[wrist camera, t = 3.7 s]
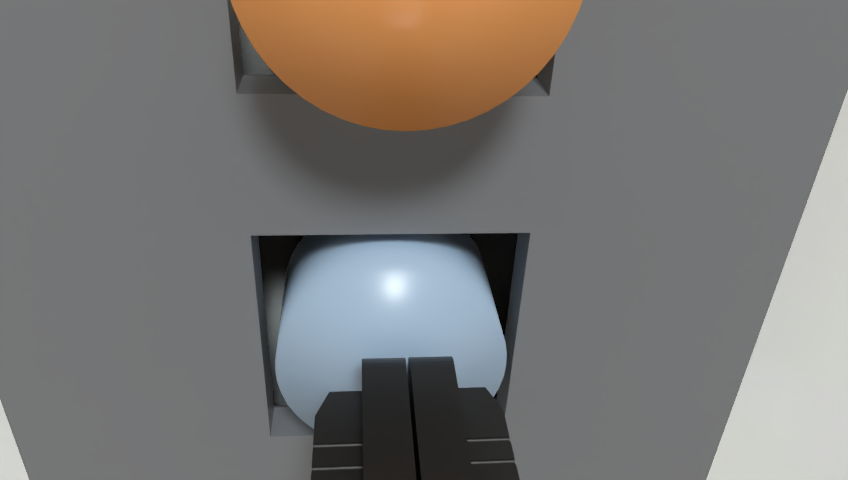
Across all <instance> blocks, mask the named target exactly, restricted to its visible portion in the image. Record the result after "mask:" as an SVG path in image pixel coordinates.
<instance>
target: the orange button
mask: <svg viewBox="0 0 848 480" xmlns="http://www.w3.org/2000/svg"><path fill="white" fill-rule="evenodd" d="M231 3H232V6H233V8H234V11H235V13H236V15H237V18H238V20H239V22H240V24H241V27H242V29H243V30H244V32H245V34H246V35H247V37H248V39H249V41H250V42H251V44H252V46H253V47H254V49H255V50H256V51H257V53H258V54H259V55H260V57H261V58H262V59H263V61H264V62H265V63H266V65H267V66H268V67H269V68H270V69H271V70H272V71H273V72H274V73H275V74H276V75H277V76H278V77H279V78H280V79H281V80H282V82H283V83H284V84H286V85H287V86H288V87H289V88H291V89H292V90H293V91H294V92H296V93H297V94H298V95H299V96H301V97H302V98H303V99H305V100H306V101H308V102H310V103H311V104H313V105H315V106H316V107H318V108H319V109H321V110H323V111H325V112H327V113H329V114H332V115H334V116H336V117H338V118H340V119H343V120H346V121H349V122H352V123H355V124H358V125H361V126H366V127H371V128H376V129H382V130H393V131H419V130H430V129H436V128H441V127H447V126H450V125H454V124H457V123H460V122H463V121H467V120H470V119H472V118H474V117H476V116H479V115H481V114H483V113H485V112H488V111H489V110H491V109H493V108H494V107H496V106H498V105H500V104H501V103H503V102H505V101H506V100H508V99H509V98H510V97H512V96H513V95H514V94H516V93H517V92H518V91H520V90H521V89H522V88H523V87H525V86H526V85H527V84H528V83H529V82H530V81H531V80H532V79H533V78H534V77H535V76H536V75H537V74H538V73H539V72H540V71H541V70H542V69H543V68H544V66H545V65H546V64H547V63H548V62H549V60H550V59H551V58H552V57H553V55H554V54H555V53H556V51H557V50H558V48H559V47H560V45H561V44H562V42H563V40H564V39H565V37H566V36H567V34H568V32H569V30H570V28H571V26H572V24H573V22H574V20H575V18H576V16H577V14H578V12H579V9H580V6H581V3H582V0H231Z"/></svg>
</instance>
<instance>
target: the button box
mask: <svg viewBox="0 0 848 480" xmlns="http://www.w3.org/2000/svg"><path fill="white" fill-rule="evenodd" d="M847 90H848V0H582V3H581V6H580V9H579V12H578V14H577V16H576V18H575V20H574V22H573V24H572V26H571V28H570V30H569V32H568V34H567V36H566V37H565V39H564V40H563V42H562V44H561V45H560V47H559V48H558V50H557V51H556V53H555V54H554V55H553V57H552V58H551V59H550V60H549V62H548V63H547V64H546V65H545V66H544V68H543V69H542V70H541V71H540V72H539V73H538V78H533V79H532V80H531V81H530V82H529V83H528V84H527V85H526V86H525V87H523V88H522V89H521V90H520V91H518V92H517V93H516V94H514V95H513V96H512V97H510V98H509V99H508V100H506V101H505V102H503V103H501V104H500V105H498V106H496V107H494V108H493V109H491V110H489V111H488V112H485V113H483V114H481V115H479V116H476V117H474V118H472V119H470V120H467V121H463V122H460V123H457V124H454V125H450V126H447V127H441V128H436V129H430V130H419V131H393V130H382V129H376V128H371V127H366V126H361V125H358V124H355V123H352V122H349V121H346V120H343V119H340V118H338V117H336V116H334V115H332V114H329V113H327V112H325V111H323V110H321V109H319V108H318V107H316V106H315V105H313V104H311V103H310V102H308V101H306V100H305V99H303V98H302V97H301V96H299V95H298V94H297V93H296V92H294V91H293V90H292V89H291V88H289V87H288V86H287V85H286V84H284V83H283V82H282V80H281V79H280V78H279V77H278V76H277V75H243V66H242V55H241V44H240V33H239V23H238V18H237V15H236V13H235V11H234V8H233V6H232V3H231V0H0V400H1V402H2V405H3V408H4V411H5V413H6V416H7V419H8V422H9V424H10V427H11V430H12V433H13V436H14V438H15V441H16V444H17V447H18V449H19V452H20V455H21V458H22V460H23V463H24V466H25V469H26V472H27V474H28V477H29V480H311V472H312V453H313V437H314V429H313V428H311V427H310V426H309V425H307V424H306V423H304V422H303V421H302V420H301V419H300V418H299V417H298V416H297V415H296V414H295V413H294V412H293V411H292V409H291V408H290V407H289V406H288V405H274V402H273V391H272V380H271V369H270V359H269V348H268V337H267V326H266V315H265V304H264V294H263V283H262V272H261V261H260V250H259V239H258V236H263V235H363V234H463V233H518V236H517V244H516V252H515V260H514V268H513V276H512V283H511V291H510V299H509V307H508V315H507V322H506V330H505V338H504V339H505V343H506V351H507V360H506V368H505V373H504V377H503V379H502V382H501V385H500V387H499V389H498V393H497V398H494V399H495V400H496V401H497V403H498V404H499V405H500V406H501V408H502V409H503V411H504V415H505V419H506V423H507V428H508V432H509V436H510V442H511V445H512V449H513V453H514V457H515V464H516V466H517V470H518V474H519V478H520V480H706V478H707V476H708V473H709V470H710V467H711V465H712V462H713V459H714V456H715V454H716V451H717V448H718V445H719V443H720V440H721V437H722V434H723V432H724V429H725V426H726V423H727V420H728V418H729V415H730V412H731V409H732V407H733V404H734V401H735V398H736V396H737V393H738V390H739V387H740V385H741V382H742V379H743V376H744V374H745V371H746V368H747V365H748V363H749V360H750V357H751V354H752V352H753V349H754V346H755V343H756V341H757V338H758V335H759V332H760V330H761V327H762V324H763V321H764V319H765V316H766V313H767V310H768V307H769V305H770V302H771V299H772V296H773V294H774V291H775V288H776V285H777V283H778V280H779V277H780V274H781V272H782V269H783V266H784V263H785V261H786V258H787V255H788V252H789V250H790V247H791V244H792V241H793V239H794V236H795V233H796V230H797V228H798V225H799V222H800V219H801V217H802V214H803V211H804V208H805V206H806V203H807V200H808V197H809V195H810V192H811V189H812V186H813V183H814V181H815V178H816V175H817V172H818V170H819V167H820V164H821V161H822V159H823V156H824V153H825V150H826V148H827V145H828V142H829V139H830V137H831V134H832V131H833V128H834V126H835V123H836V120H837V117H838V115H839V112H840V109H841V106H842V104H843V101H844V98H845V95H846V93H847Z"/></svg>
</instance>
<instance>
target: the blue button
mask: <svg viewBox="0 0 848 480" xmlns="http://www.w3.org/2000/svg"><path fill="white" fill-rule="evenodd" d="M440 356H452V357H453V360H454V365H455V371H456V377H457V383H458V388H471V387H486V389H487V390H488V391H489V393H490V394H491V395H492V396H493V397H494V396H495V394H496V392H497V390H498V389H499V387H500V385H501V382H502V379H503V377H504V373H505V368H506V360H507V351H506V343H505V339H504V335H503V332H502V328H501V324H500V321H499V317H498V314H497V310H496V306H495V303H494V299H493V296H492V292H491V288H490V285H489V281H488V278H487V274H486V270H485V267H484V263H483V260H482V257H481V254H480V251H479V249H478V247H477V245H476V243H475V242H474V241H473V239H472V238H471V236H470V235H469V234H468V233H463V234H363V235H304V237H303V238H302V239H301V241H300V242H299V243H298V245H297V246H296V248H295V250H294V252H293V254H292V256H291V258H290V261H289V264H288V267H287V273H286V279H285V287H284V295H283V303H282V311H281V318H280V326H279V334H278V342H277V350H276V358H275V372H276V378H277V383H278V386H279V389H280V391H281V394H282V396H283V397H284V399H285V401H286V403H287V404H288V406H289V407H290V408H291V409H292V411H293V412H294V413H295V414H296V415H297V416H298V417H299V418H300V419H301V420H302V421H303V422H304V423H306V424H307V425H309V426H310V427H311V428H313V429H314V420H315V415H316V413H317V411H318V410H319V408H320V406H321V405H322V403H323V402H324V400H325V398H326V397H327V395H328V393H329V392H339V391H362V359H367V358H405V359H406V368H408V358H409V357H440Z"/></svg>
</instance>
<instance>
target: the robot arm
mask: <svg viewBox="0 0 848 480" xmlns="http://www.w3.org/2000/svg"><path fill="white" fill-rule="evenodd" d="M311 480H520V478H519V474H518V470H517V466H516V464H515V457H514V453H513V449H512V445H511V442H510V436H509V432H508V428H507V423H506V419H505V415H504V411H503V409H502V408H501V406H500V405H499V404H498V403H497V401H496V400H495V399H494V398H493V396H492V395H491V394H490V393H489V391H488V390H487V389H486V387H471V388H458V383H457V377H456V371H455V365H454V360H453V357H452V356H440V357H409V358H408V368H406V359H405V358H367V359H362V391H339V392H329V393H328V395H327V397H326V398H325V400H324V402H323V403H322V405H321V406H320V408H319V410H318V411H317V413H316V415H315V420H314V437H313V453H312V472H311Z"/></svg>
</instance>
